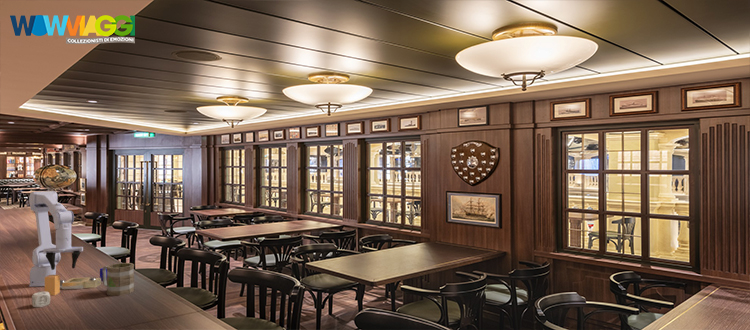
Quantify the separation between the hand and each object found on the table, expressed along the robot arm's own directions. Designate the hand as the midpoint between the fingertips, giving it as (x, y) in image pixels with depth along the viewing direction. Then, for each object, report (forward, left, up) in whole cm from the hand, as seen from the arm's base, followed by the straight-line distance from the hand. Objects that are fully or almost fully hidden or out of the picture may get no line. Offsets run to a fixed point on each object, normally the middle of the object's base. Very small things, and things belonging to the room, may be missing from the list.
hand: (63, 268), depth 196 cm
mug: (+23, -3, -11) cm, 26 cm away
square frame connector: (+2, +8, -10) cm, 13 cm away
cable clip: (+11, +23, -11) cm, 27 cm away
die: (+1, -19, -11) cm, 22 cm away
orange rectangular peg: (-3, -3, -10) cm, 11 cm away
